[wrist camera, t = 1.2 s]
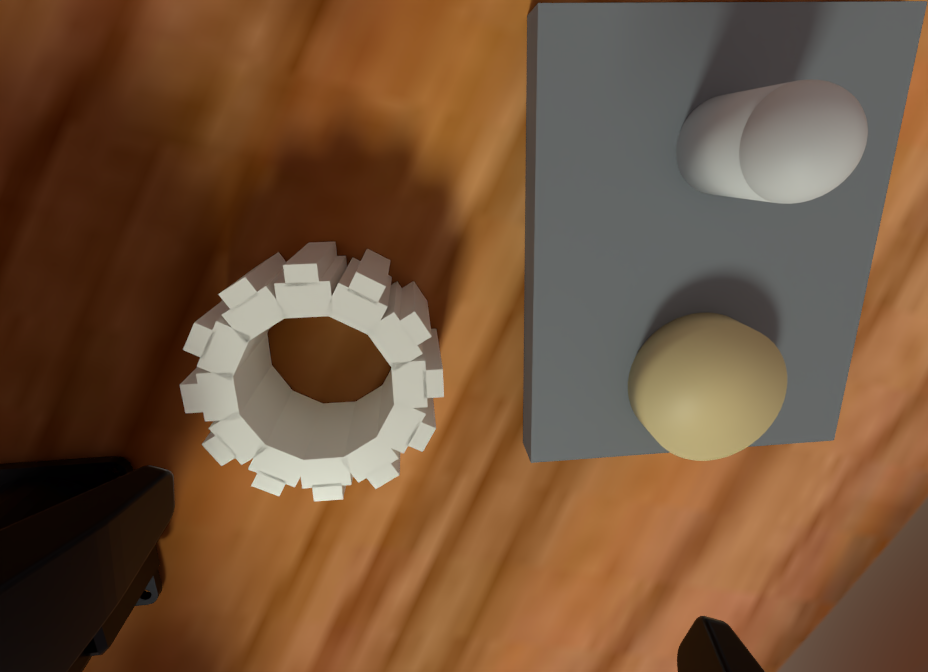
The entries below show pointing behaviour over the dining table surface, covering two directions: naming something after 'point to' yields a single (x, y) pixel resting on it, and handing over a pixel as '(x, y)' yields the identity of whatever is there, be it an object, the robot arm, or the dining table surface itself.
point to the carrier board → (702, 218)
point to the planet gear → (297, 416)
